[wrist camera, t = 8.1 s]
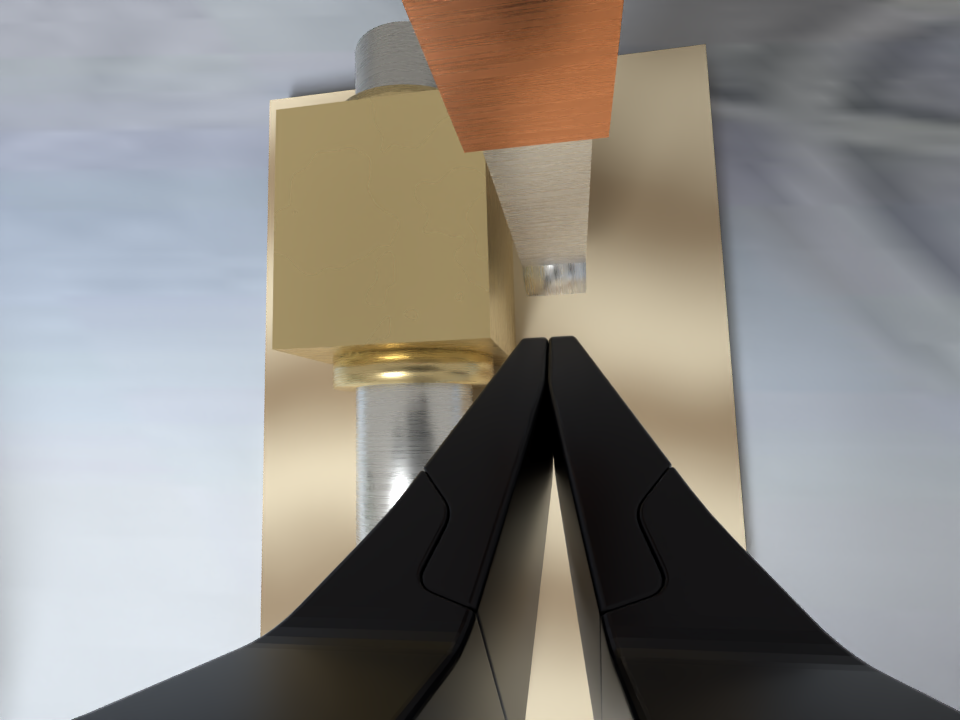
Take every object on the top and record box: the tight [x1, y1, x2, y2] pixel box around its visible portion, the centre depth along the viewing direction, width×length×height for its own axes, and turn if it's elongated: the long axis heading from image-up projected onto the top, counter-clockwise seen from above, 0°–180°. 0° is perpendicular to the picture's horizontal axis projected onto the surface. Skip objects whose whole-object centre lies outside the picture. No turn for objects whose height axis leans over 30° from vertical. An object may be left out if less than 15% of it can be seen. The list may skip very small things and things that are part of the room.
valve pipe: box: [272, 21, 516, 546], centre depth 16 cm, size 20×5×6 cm, turn 1°
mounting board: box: [261, 44, 746, 720], centre depth 19 cm, size 22×15×1 cm
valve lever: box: [402, 0, 624, 297], centre depth 10 cm, size 3×2×14 cm
